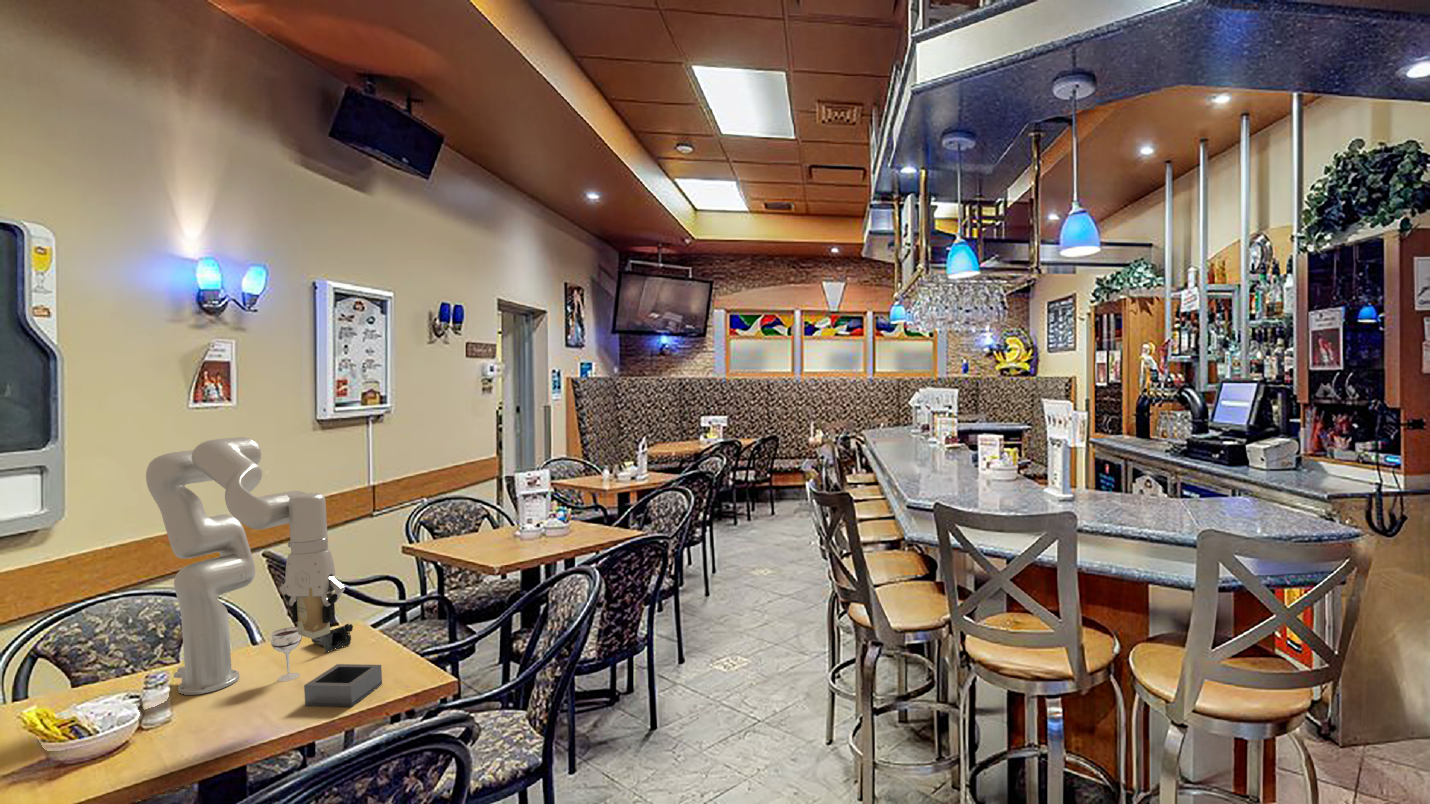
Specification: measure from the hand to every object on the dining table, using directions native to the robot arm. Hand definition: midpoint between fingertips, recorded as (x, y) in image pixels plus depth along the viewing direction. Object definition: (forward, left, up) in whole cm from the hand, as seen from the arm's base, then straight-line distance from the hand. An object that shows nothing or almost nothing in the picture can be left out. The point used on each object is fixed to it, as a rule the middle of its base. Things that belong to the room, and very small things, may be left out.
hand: (314, 620), depth 161 cm
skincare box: (0, 0, -3) cm, 3 cm away
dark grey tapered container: (-22, +34, -20) cm, 46 cm away
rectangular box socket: (+4, +5, -20) cm, 21 cm away
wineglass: (-18, +14, -20) cm, 30 cm away
